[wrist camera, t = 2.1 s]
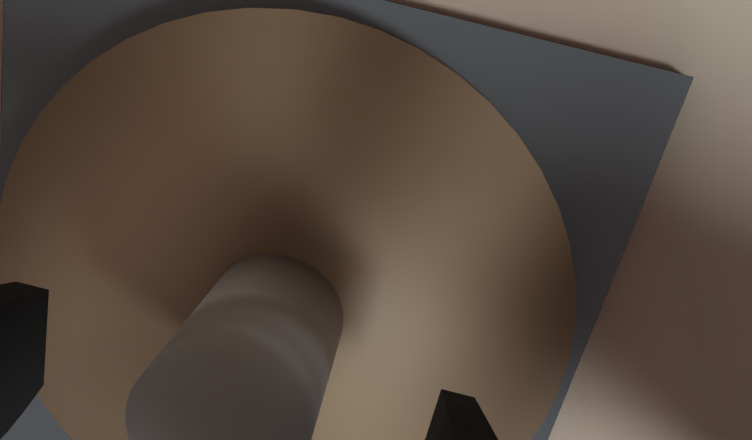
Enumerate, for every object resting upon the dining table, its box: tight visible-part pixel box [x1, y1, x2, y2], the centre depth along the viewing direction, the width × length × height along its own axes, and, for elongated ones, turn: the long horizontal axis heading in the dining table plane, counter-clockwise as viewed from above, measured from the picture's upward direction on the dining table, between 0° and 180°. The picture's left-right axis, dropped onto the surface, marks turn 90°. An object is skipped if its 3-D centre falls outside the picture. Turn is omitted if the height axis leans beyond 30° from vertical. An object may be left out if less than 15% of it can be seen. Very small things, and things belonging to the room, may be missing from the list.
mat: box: [0, 0, 693, 440], centre depth 14 cm, size 14×14×1 cm
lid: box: [0, 8, 576, 440], centre depth 12 cm, size 13×13×5 cm
